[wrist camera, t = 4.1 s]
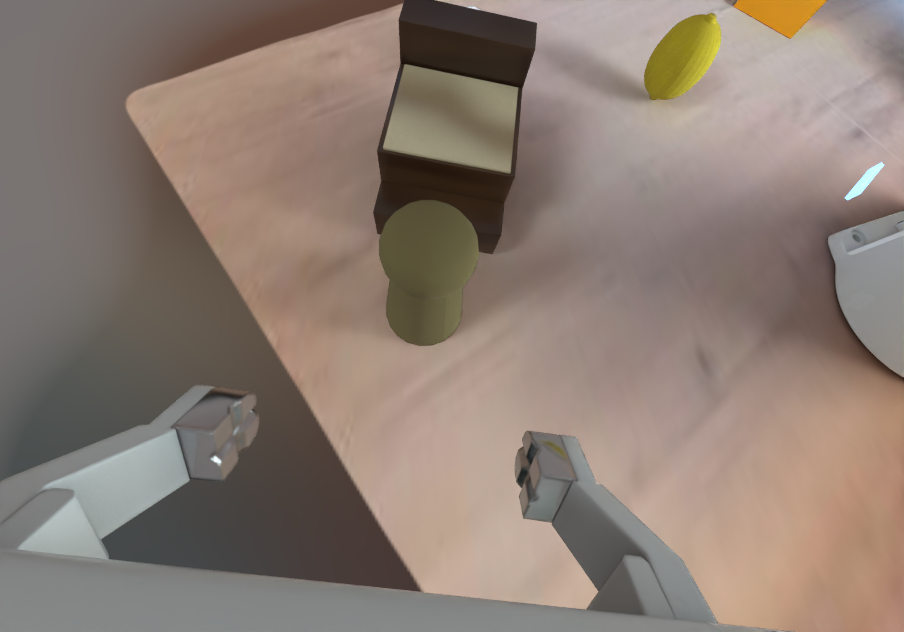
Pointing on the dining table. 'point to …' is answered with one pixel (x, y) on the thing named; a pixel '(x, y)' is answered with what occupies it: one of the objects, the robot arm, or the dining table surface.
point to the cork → (427, 269)
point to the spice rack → (455, 113)
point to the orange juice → (781, 13)
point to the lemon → (682, 57)
